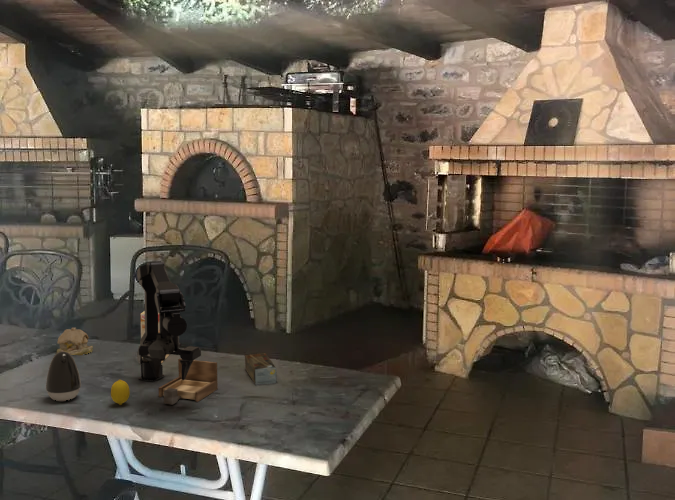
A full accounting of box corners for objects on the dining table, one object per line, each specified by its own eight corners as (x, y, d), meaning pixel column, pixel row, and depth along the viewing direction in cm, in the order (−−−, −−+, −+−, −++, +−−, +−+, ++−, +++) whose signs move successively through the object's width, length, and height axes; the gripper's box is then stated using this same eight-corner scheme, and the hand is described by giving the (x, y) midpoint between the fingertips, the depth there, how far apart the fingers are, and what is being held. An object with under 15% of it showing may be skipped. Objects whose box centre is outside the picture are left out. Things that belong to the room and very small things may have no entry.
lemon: (113, 402, 209) (112, 377, 208) (131, 401, 209) (131, 376, 208) (109, 408, 203) (108, 382, 202) (127, 407, 204) (127, 382, 203)
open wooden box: (158, 397, 214) (157, 369, 212) (180, 384, 226) (179, 358, 225) (197, 401, 209) (197, 373, 208) (217, 389, 222) (217, 362, 221)
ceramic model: (50, 355, 261) (49, 330, 259) (65, 347, 272) (64, 323, 270) (84, 357, 259) (83, 331, 257) (98, 349, 270) (97, 324, 268)
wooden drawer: (152, 402, 208) (151, 389, 207) (180, 385, 224) (180, 374, 223) (184, 406, 204) (184, 393, 204) (210, 389, 220) (210, 377, 220)
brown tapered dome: (47, 406, 204) (45, 357, 203) (45, 396, 213) (43, 349, 212) (83, 401, 209) (81, 353, 207) (79, 391, 218) (77, 345, 216)
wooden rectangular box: (254, 386, 226) (254, 367, 225) (244, 370, 244) (244, 352, 243) (277, 383, 228) (277, 365, 227) (265, 368, 246) (265, 351, 245)
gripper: (126, 332, 200) (128, 383, 202) (182, 337, 194) (183, 389, 196) (148, 324, 210) (149, 372, 212) (201, 328, 205) (202, 378, 207)
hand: (170, 378), depth 207 cm, fingers open, 9 cm apart
